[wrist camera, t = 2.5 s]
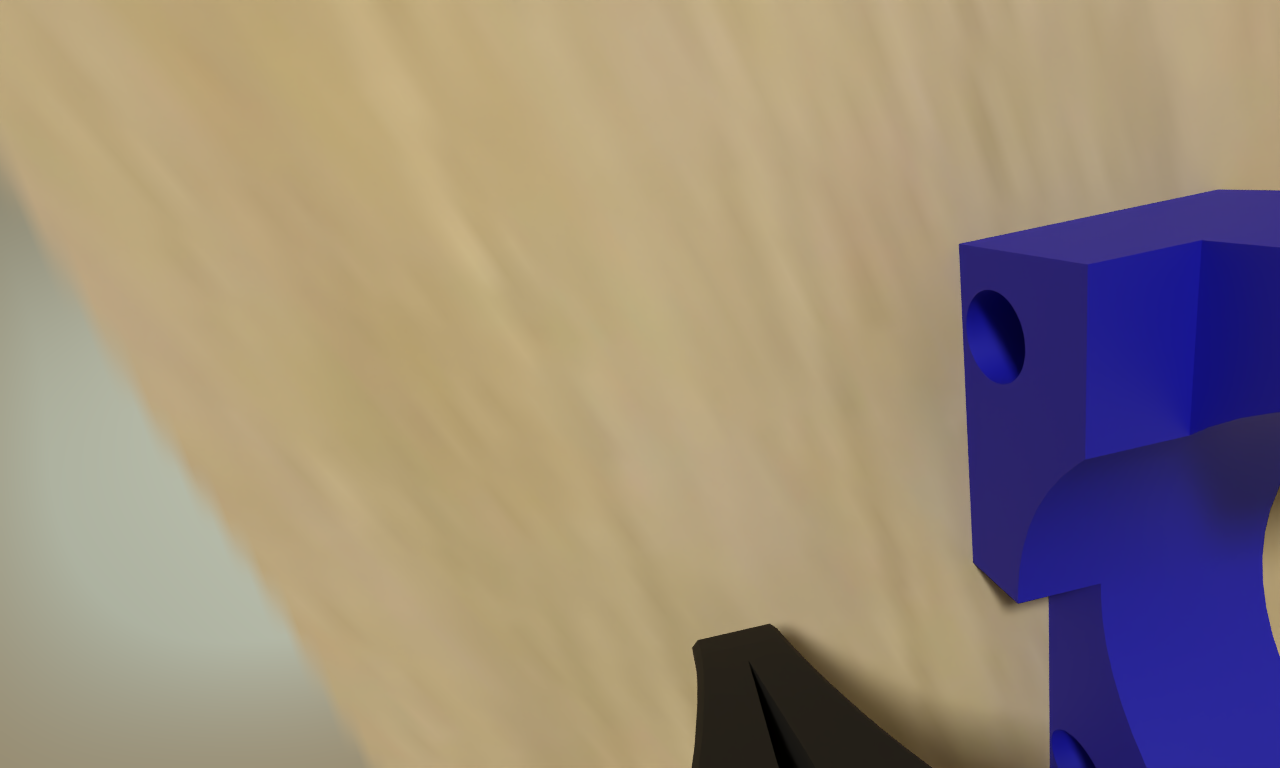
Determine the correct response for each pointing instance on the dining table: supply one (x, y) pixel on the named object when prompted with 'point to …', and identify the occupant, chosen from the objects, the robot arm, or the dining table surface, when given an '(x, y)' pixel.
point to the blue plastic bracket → (1135, 469)
